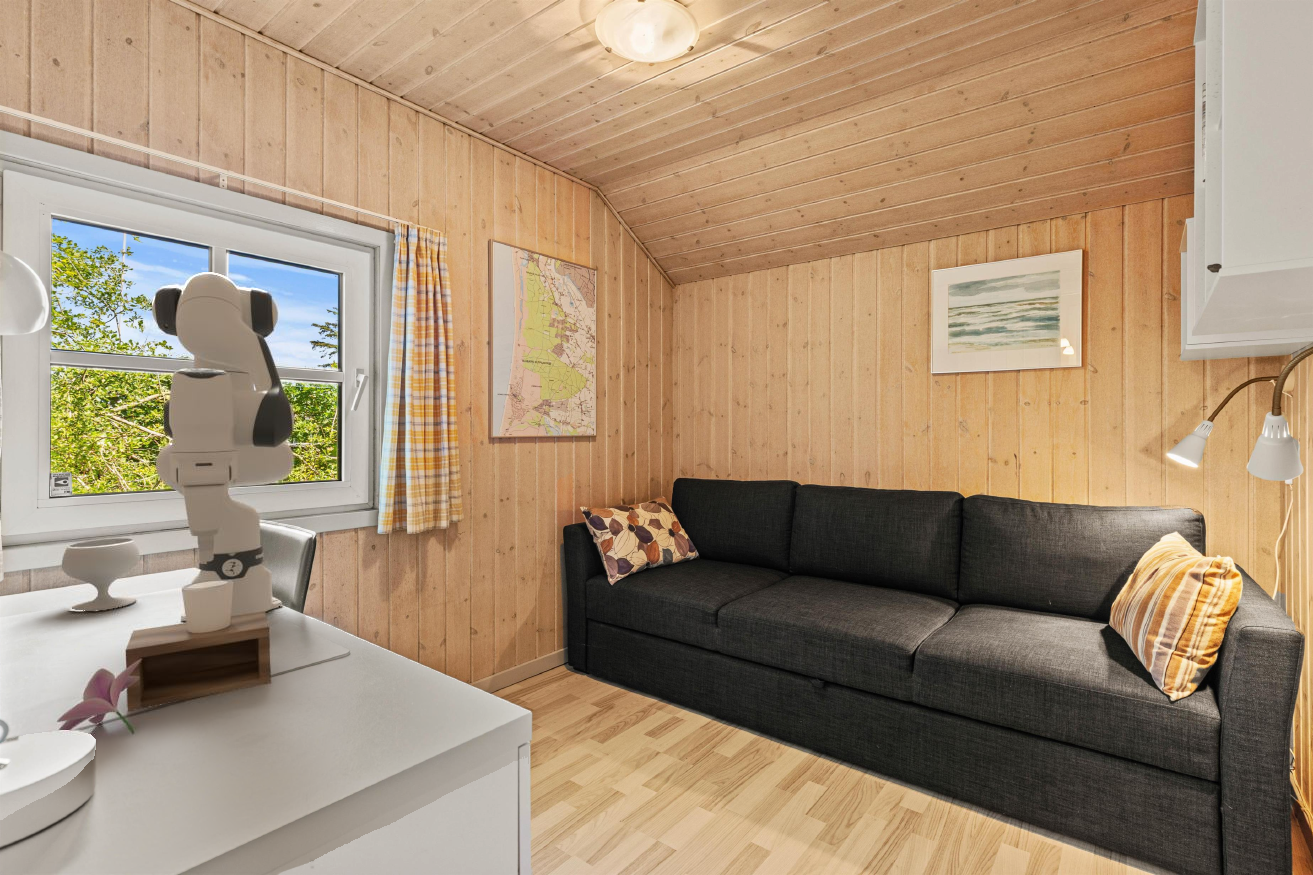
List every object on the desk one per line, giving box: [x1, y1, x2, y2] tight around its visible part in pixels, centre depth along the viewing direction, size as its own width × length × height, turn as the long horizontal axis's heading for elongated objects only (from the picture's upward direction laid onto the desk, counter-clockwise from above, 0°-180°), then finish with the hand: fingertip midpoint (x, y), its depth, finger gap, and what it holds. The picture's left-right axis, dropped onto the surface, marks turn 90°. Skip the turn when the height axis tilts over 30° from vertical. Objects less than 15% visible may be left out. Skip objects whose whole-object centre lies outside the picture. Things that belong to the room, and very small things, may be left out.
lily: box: [56, 659, 142, 735], centre depth 89 cm, size 12×12×10 cm
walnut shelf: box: [125, 611, 272, 712], centre depth 105 cm, size 11×18×9 cm, turn 124°
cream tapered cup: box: [181, 580, 233, 633], centre depth 106 cm, size 7×7×7 cm
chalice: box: [61, 537, 141, 612], centre depth 154 cm, size 14×14×15 cm
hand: (206, 555), depth 106 cm, fingers open, 8 cm apart
